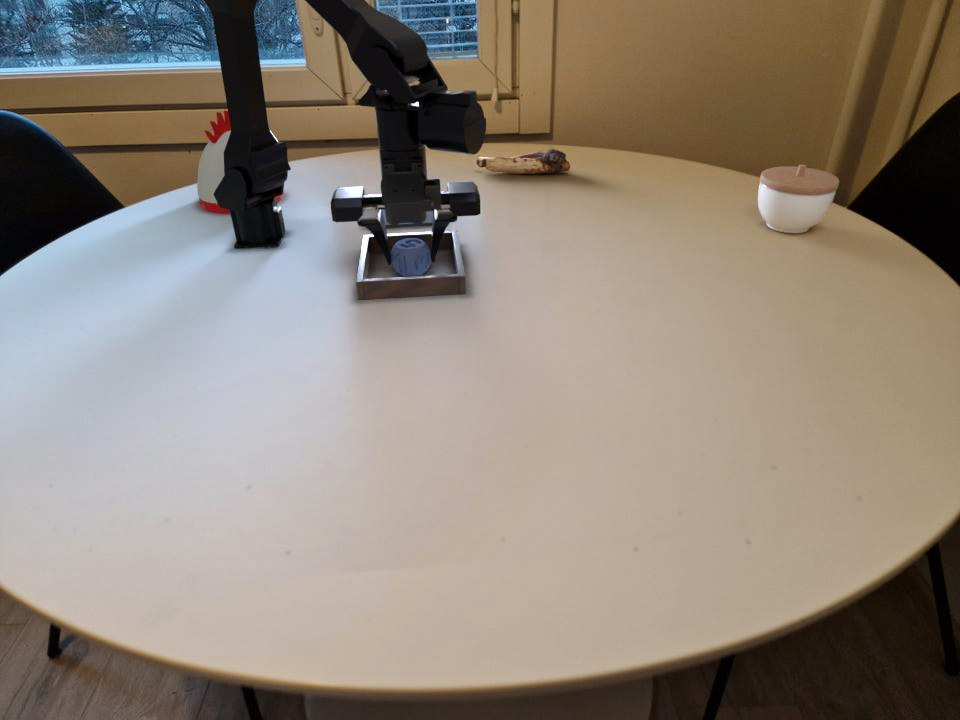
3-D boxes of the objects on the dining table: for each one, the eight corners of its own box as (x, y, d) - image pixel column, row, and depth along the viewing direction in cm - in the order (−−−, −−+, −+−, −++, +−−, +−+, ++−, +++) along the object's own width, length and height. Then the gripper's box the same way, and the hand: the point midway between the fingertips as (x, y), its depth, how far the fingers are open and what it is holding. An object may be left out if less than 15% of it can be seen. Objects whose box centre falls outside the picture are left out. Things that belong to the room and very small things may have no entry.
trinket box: (748, 234, 98) (762, 172, 93) (752, 210, 106) (764, 152, 101) (826, 243, 94) (845, 179, 89) (824, 218, 103) (840, 158, 98)
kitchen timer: (298, 195, 117) (283, 107, 109) (237, 218, 107) (215, 124, 99) (246, 183, 123) (228, 100, 115) (183, 204, 113) (159, 115, 105)
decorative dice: (391, 271, 88) (388, 244, 86) (413, 262, 91) (411, 235, 89) (411, 279, 86) (408, 251, 84) (432, 270, 89) (431, 242, 86)
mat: (367, 228, 102) (366, 225, 102) (370, 203, 112) (370, 200, 112) (443, 224, 103) (442, 222, 103) (439, 199, 113) (439, 197, 113)
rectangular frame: (358, 299, 82) (355, 282, 80) (365, 251, 95) (363, 235, 93) (465, 293, 82) (465, 276, 81) (458, 246, 96) (457, 230, 94)
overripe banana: (568, 166, 130) (479, 163, 132) (570, 142, 128) (479, 139, 129) (570, 179, 122) (475, 176, 124) (572, 153, 120) (475, 150, 121)
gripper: (317, 167, 72) (336, 293, 80) (484, 160, 73) (485, 285, 82) (327, 142, 81) (343, 257, 90) (475, 136, 83) (477, 250, 91)
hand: (411, 262), depth 88 cm, fingers closed on decorative dice, 5 cm apart
